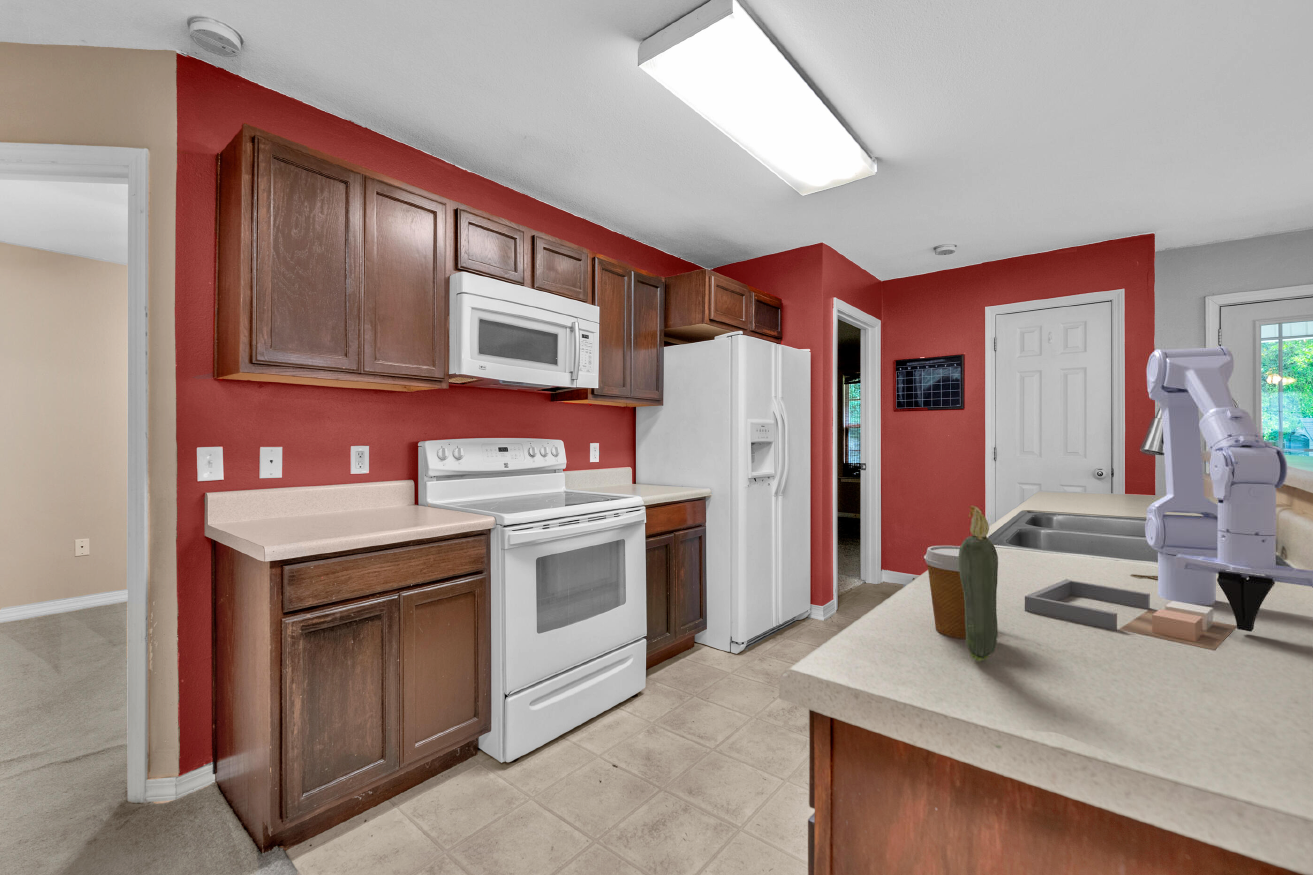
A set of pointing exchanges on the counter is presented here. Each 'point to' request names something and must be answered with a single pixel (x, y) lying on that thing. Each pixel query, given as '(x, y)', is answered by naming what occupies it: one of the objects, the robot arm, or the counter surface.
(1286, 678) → the counter surface
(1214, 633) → the walnut plate
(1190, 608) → the cream tile
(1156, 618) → the terracotta tile
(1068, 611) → the tray
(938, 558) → the disposable coffee cup
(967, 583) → the vegetable
